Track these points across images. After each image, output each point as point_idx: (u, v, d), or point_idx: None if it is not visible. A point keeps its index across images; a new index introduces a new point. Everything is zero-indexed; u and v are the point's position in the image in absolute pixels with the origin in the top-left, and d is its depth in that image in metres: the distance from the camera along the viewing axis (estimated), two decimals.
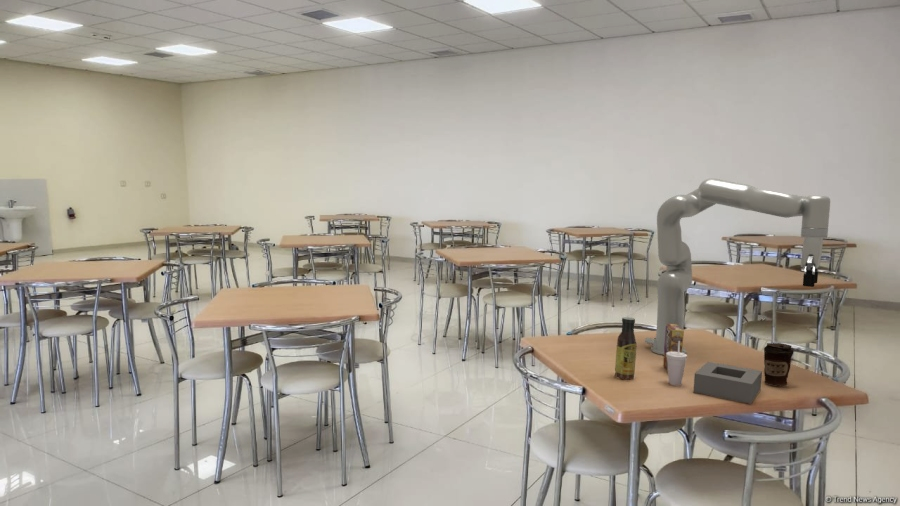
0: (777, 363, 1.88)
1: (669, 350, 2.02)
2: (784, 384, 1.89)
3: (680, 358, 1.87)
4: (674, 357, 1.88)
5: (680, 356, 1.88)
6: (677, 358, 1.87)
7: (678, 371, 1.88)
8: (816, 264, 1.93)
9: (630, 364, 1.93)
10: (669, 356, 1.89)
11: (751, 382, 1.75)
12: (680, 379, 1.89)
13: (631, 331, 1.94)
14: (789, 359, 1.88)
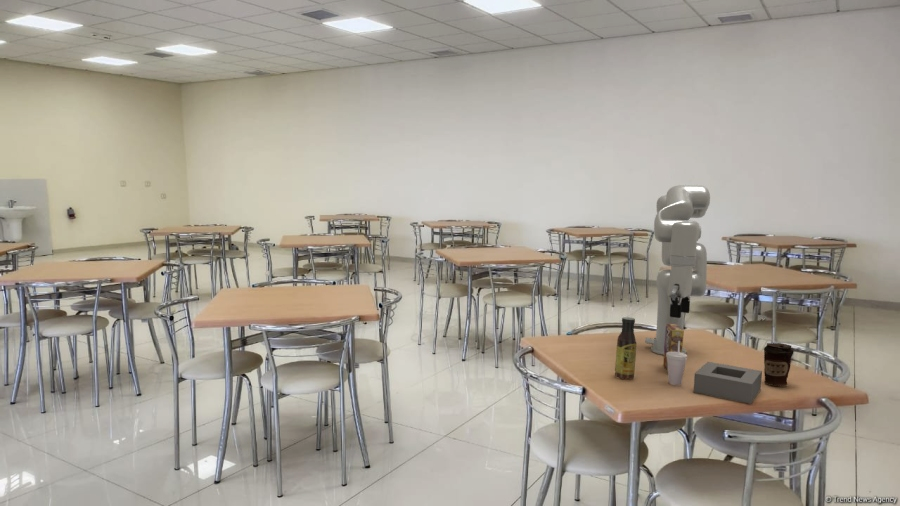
0: (777, 363, 1.88)
1: (669, 350, 2.02)
2: (784, 384, 1.89)
3: (680, 358, 1.87)
4: (674, 357, 1.88)
5: (680, 356, 1.88)
6: (677, 358, 1.87)
7: (678, 371, 1.88)
8: (682, 294, 1.83)
9: (630, 364, 1.93)
10: (669, 356, 1.89)
11: (751, 382, 1.75)
12: (680, 379, 1.89)
13: (631, 331, 1.94)
14: (789, 359, 1.88)
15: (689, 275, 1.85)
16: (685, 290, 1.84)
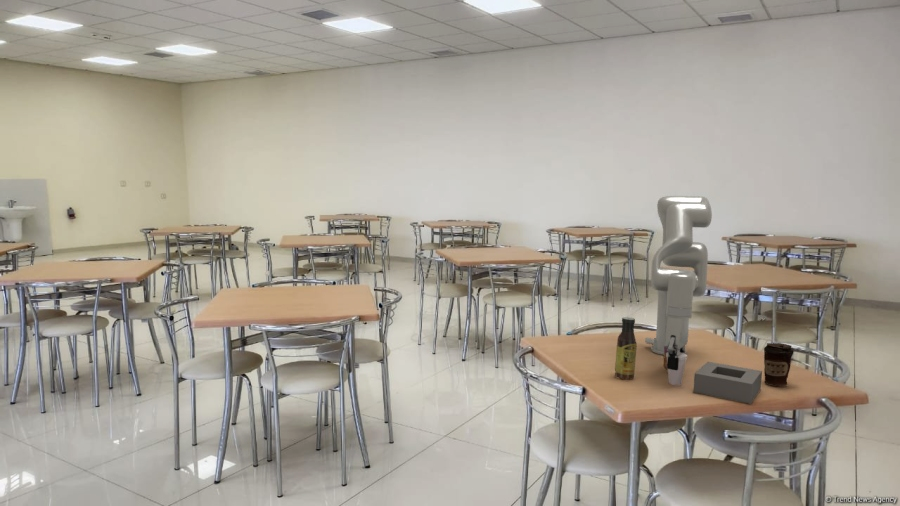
0: (777, 363, 1.88)
1: None
2: (784, 384, 1.89)
3: (680, 358, 1.87)
4: None
5: (680, 356, 1.88)
6: None
7: (679, 371, 1.88)
8: (678, 345, 1.85)
9: (630, 364, 1.93)
10: None
11: (751, 382, 1.75)
12: (680, 379, 1.89)
13: (631, 331, 1.94)
14: (789, 359, 1.88)
15: (685, 326, 1.87)
16: (681, 341, 1.86)
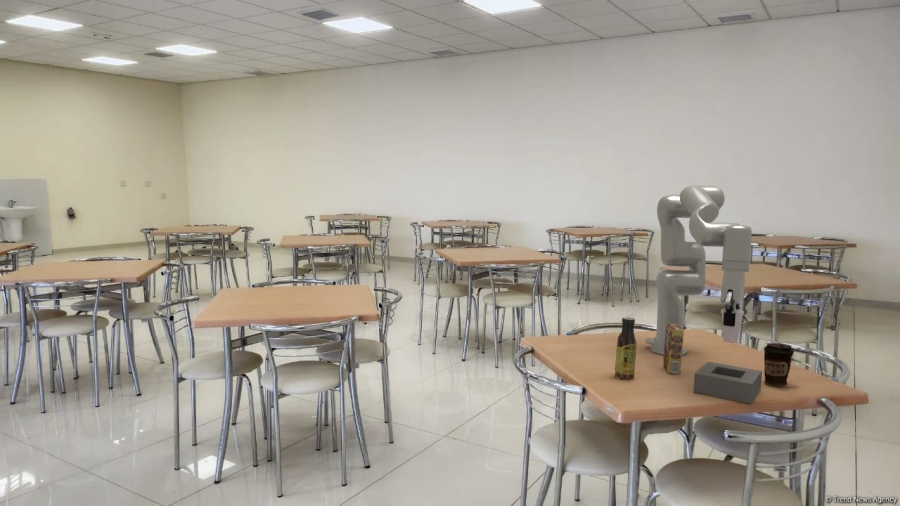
0: (777, 363, 1.88)
1: (669, 350, 2.02)
2: (784, 384, 1.89)
3: (737, 314, 1.79)
4: None
5: (737, 312, 1.80)
6: None
7: (735, 328, 1.80)
8: (736, 300, 1.77)
9: (630, 364, 1.93)
10: None
11: (751, 382, 1.75)
12: (736, 336, 1.81)
13: (631, 331, 1.94)
14: (789, 359, 1.88)
15: (742, 280, 1.79)
16: (739, 296, 1.78)
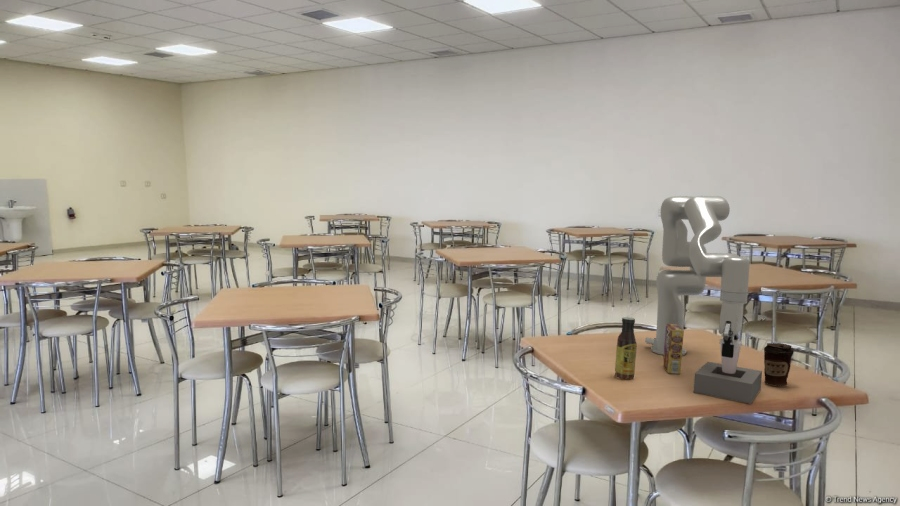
0: (777, 363, 1.88)
1: (669, 350, 2.02)
2: (784, 384, 1.89)
3: (735, 345, 1.80)
4: None
5: (735, 343, 1.81)
6: None
7: (733, 359, 1.81)
8: (734, 332, 1.78)
9: (630, 364, 1.93)
10: None
11: (751, 382, 1.75)
12: (735, 367, 1.82)
13: (631, 331, 1.94)
14: (789, 359, 1.88)
15: (741, 312, 1.80)
16: (737, 327, 1.79)
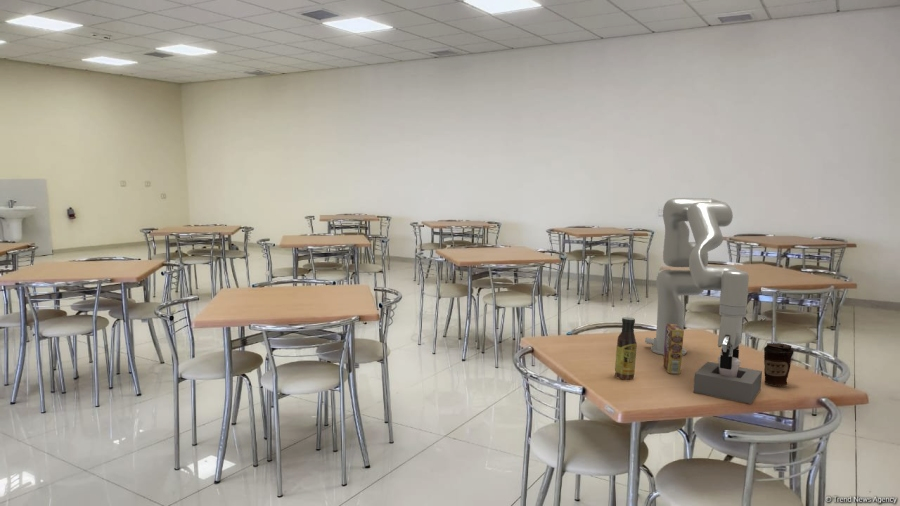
0: (777, 363, 1.88)
1: (669, 350, 2.02)
2: (784, 384, 1.89)
3: (734, 363, 1.81)
4: None
5: (733, 361, 1.81)
6: None
7: None
8: (733, 345, 1.78)
9: (630, 364, 1.93)
10: None
11: (751, 382, 1.75)
12: None
13: (631, 331, 1.94)
14: (789, 359, 1.88)
15: (740, 325, 1.80)
16: (736, 341, 1.79)
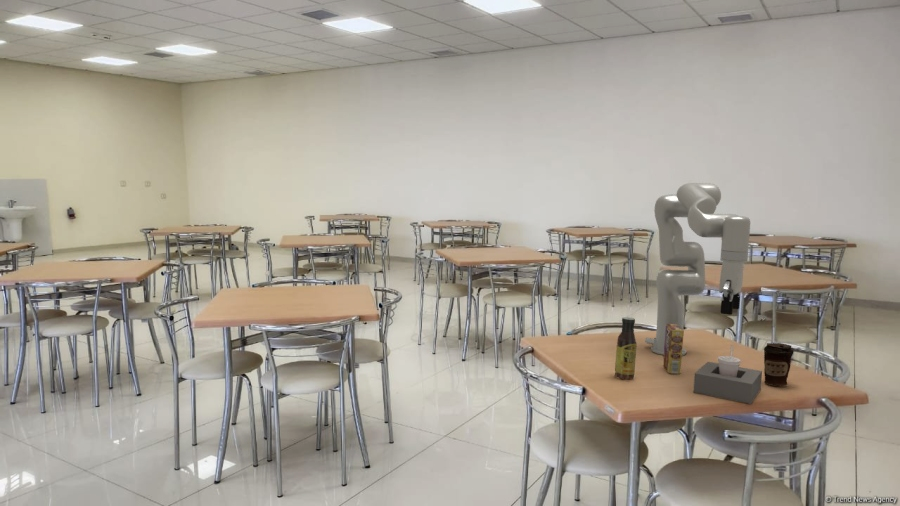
0: (777, 363, 1.88)
1: (669, 350, 2.02)
2: (784, 384, 1.89)
3: (734, 363, 1.81)
4: (727, 362, 1.81)
5: (733, 361, 1.81)
6: (730, 363, 1.81)
7: None
8: (734, 290, 1.79)
9: (630, 364, 1.93)
10: (722, 361, 1.83)
11: (751, 382, 1.75)
12: None
13: (631, 331, 1.94)
14: (789, 359, 1.88)
15: (741, 271, 1.81)
16: (737, 286, 1.80)
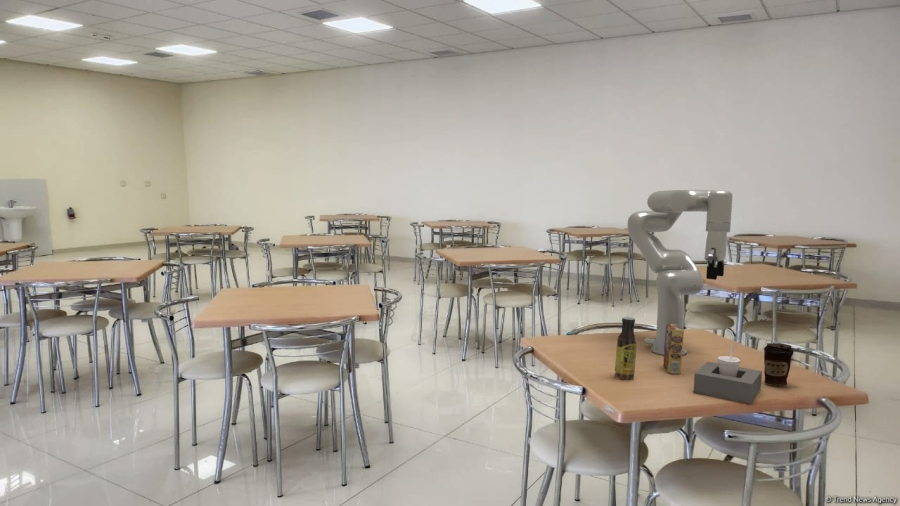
0: (777, 363, 1.88)
1: (669, 350, 2.02)
2: (784, 384, 1.89)
3: (733, 363, 1.81)
4: (727, 362, 1.81)
5: (733, 361, 1.81)
6: (730, 363, 1.81)
7: None
8: (718, 257, 1.98)
9: (630, 364, 1.93)
10: (722, 361, 1.83)
11: (751, 382, 1.75)
12: None
13: (631, 331, 1.94)
14: (789, 359, 1.88)
15: (724, 240, 2.00)
16: (721, 254, 1.98)
